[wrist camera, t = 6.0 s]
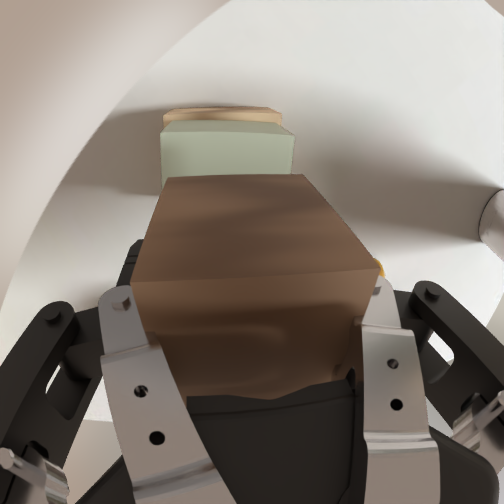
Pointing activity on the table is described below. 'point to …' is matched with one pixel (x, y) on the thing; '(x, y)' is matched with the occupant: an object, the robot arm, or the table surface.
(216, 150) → the sage block
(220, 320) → the walnut block
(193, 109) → the oak block
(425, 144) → the table surface
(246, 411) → the robot arm
